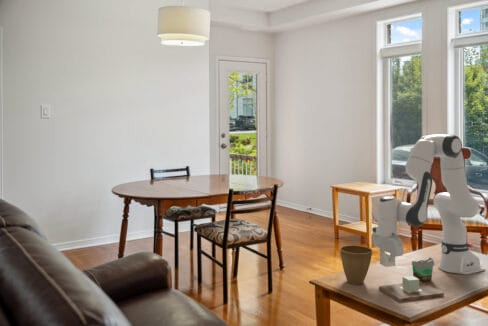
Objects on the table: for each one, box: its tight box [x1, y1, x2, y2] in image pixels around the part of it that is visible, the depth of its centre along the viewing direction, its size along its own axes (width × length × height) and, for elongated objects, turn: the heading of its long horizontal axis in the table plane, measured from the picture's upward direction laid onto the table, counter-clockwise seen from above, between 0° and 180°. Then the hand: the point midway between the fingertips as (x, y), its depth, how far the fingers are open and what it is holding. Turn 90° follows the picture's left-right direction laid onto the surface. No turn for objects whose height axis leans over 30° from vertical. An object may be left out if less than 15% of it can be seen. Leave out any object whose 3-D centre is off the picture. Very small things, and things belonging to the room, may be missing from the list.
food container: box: [411, 257, 435, 284], centre depth 225 cm, size 12×6×10 cm, turn 118°
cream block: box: [379, 252, 396, 268], centre depth 221 cm, size 5×5×5 cm
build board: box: [378, 281, 445, 303], centre depth 210 cm, size 22×16×2 cm
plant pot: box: [339, 244, 373, 285], centre depth 225 cm, size 15×15×16 cm
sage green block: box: [402, 275, 419, 292], centre depth 210 cm, size 5×5×5 cm
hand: (387, 260), depth 221 cm, fingers closed on cream block, 5 cm apart
